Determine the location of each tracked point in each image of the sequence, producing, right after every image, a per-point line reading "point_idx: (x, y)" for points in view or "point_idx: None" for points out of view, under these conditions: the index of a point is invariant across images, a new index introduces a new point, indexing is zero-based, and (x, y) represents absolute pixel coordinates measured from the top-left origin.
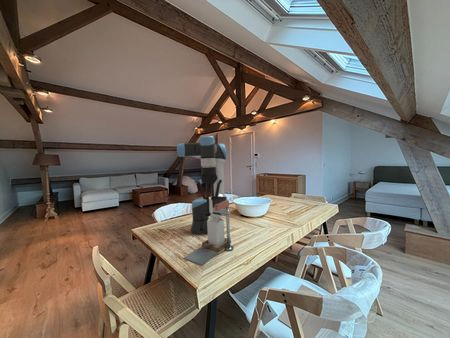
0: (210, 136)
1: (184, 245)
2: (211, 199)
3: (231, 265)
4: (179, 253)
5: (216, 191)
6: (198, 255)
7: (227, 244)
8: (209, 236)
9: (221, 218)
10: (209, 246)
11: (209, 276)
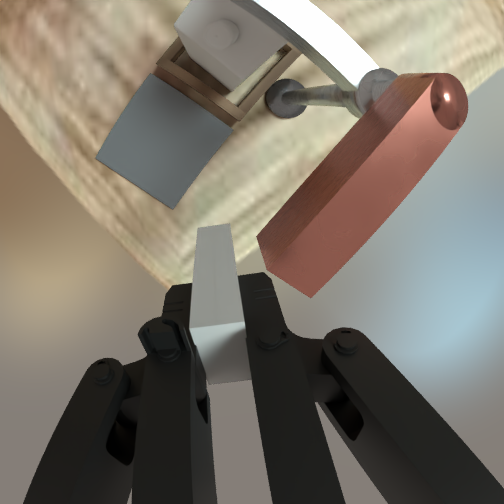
0: None
1: (81, 53)
2: (241, 345)
3: None
4: (73, 119)
5: (368, 474)
6: (150, 145)
7: (284, 99)
8: (194, 56)
9: None
10: (195, 89)
11: None
